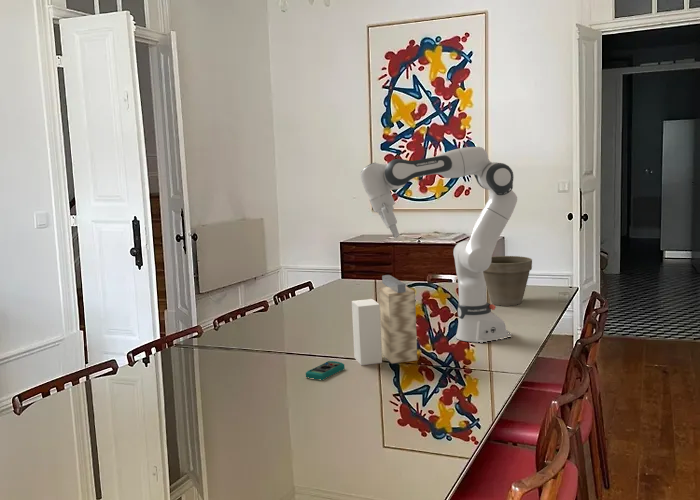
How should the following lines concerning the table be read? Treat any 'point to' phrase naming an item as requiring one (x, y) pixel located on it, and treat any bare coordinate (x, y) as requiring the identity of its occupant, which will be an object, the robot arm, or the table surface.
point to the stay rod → (394, 283)
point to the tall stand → (398, 325)
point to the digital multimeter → (325, 370)
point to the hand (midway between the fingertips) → (396, 236)
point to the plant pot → (507, 279)
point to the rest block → (366, 331)
